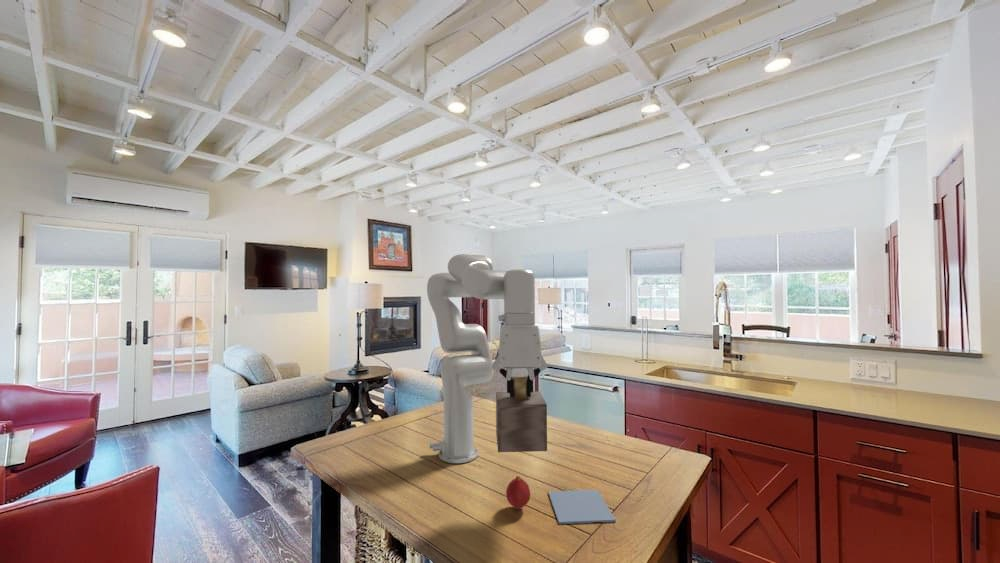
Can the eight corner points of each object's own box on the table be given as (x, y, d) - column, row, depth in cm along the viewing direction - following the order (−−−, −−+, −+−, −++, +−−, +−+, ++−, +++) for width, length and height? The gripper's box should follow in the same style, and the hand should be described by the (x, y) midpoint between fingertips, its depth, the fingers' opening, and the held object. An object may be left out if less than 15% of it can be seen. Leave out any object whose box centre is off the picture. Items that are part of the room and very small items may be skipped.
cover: (498, 452, 85) (497, 382, 85) (496, 433, 96) (496, 372, 96) (547, 451, 85) (546, 382, 86) (539, 432, 96) (539, 371, 97)
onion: (505, 502, 93) (505, 470, 93) (528, 501, 93) (527, 469, 93) (507, 516, 87) (507, 481, 87) (532, 515, 87) (531, 480, 88)
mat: (558, 524, 84) (558, 521, 84) (548, 493, 97) (548, 491, 97) (615, 521, 85) (615, 519, 85) (597, 491, 98) (597, 489, 98)
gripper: (485, 321, 87) (486, 400, 87) (556, 321, 88) (556, 399, 88) (485, 319, 95) (485, 392, 94) (550, 318, 96) (550, 391, 95)
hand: (519, 394), depth 91 cm, fingers closed on cover, 3 cm apart
